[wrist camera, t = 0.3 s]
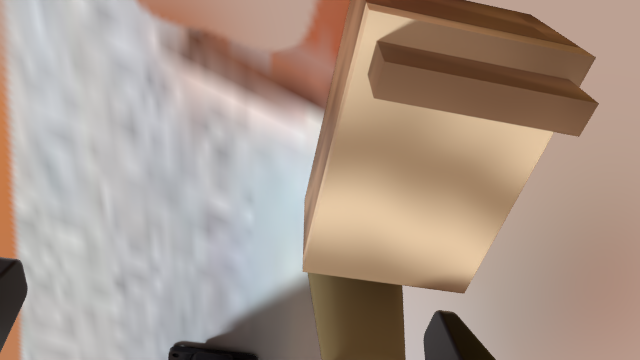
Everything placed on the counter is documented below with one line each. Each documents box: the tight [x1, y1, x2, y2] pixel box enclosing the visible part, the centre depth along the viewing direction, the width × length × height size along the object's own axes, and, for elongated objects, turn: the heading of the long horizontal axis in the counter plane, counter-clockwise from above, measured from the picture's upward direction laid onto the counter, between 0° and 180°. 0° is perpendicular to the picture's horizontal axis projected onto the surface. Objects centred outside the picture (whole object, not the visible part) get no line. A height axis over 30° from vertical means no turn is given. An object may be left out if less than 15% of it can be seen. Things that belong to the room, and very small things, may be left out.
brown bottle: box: [308, 272, 405, 360], centre depth 24 cm, size 6×6×11 cm
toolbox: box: [303, 0, 580, 255], centre depth 21 cm, size 12×8×4 cm, turn 169°
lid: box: [303, 2, 599, 293], centre depth 18 cm, size 12×8×3 cm, turn 168°
